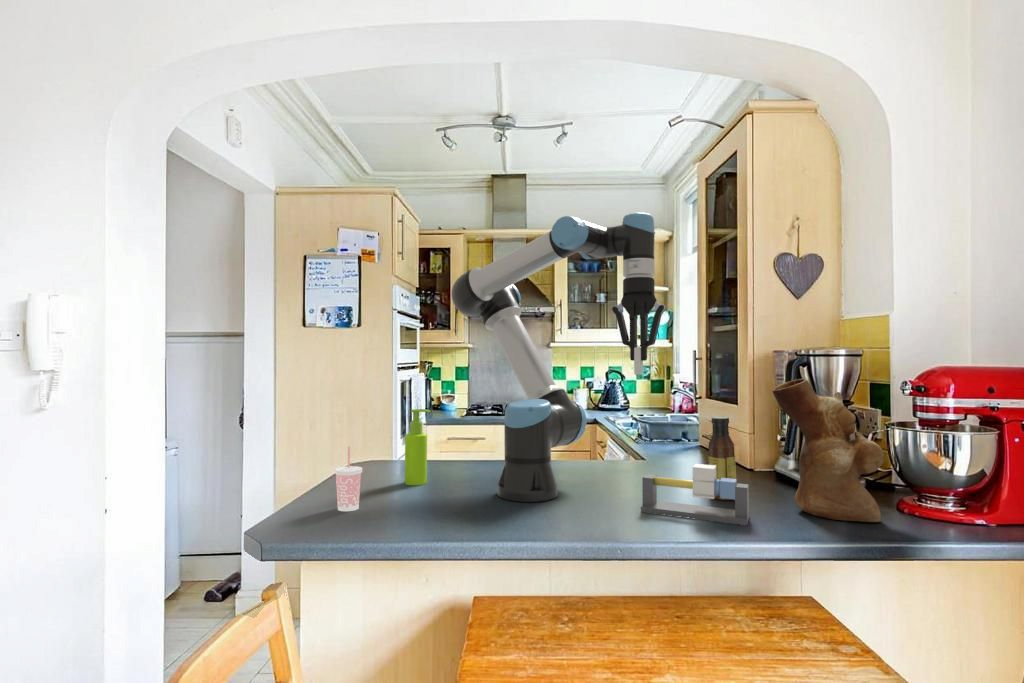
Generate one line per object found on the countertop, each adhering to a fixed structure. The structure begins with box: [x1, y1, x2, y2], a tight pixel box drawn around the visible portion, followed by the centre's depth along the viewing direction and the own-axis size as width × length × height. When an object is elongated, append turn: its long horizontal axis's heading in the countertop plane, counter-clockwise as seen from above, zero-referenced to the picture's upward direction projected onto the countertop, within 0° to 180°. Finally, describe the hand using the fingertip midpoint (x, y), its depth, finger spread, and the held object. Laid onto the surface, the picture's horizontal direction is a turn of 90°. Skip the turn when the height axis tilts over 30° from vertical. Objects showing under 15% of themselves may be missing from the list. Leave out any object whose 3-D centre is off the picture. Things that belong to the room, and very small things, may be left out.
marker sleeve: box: [692, 463, 716, 500], centre depth 124 cm, size 4×4×6 cm
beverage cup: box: [334, 446, 363, 512], centre depth 129 cm, size 6×6×14 cm
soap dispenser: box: [404, 408, 432, 486], centre depth 154 cm, size 6×7×20 cm
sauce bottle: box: [707, 416, 737, 501], centre depth 140 cm, size 7×6×20 cm
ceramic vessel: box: [771, 378, 885, 523], centre depth 126 cm, size 16×22×30 cm
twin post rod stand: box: [640, 473, 750, 526], centre depth 125 cm, size 22×7×8 cm, turn 64°
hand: (638, 374), depth 138 cm, fingers closed
